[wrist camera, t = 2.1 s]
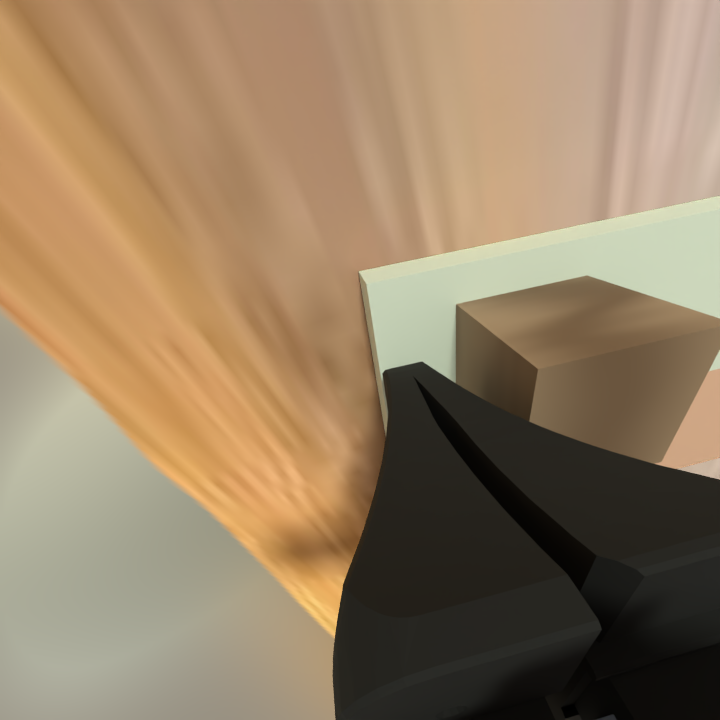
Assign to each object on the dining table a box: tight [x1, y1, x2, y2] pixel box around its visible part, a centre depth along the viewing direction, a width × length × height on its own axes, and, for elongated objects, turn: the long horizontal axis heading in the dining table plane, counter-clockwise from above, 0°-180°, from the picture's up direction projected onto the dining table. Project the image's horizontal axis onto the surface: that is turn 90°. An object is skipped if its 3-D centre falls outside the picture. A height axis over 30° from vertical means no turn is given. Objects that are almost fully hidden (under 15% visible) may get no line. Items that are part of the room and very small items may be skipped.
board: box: [359, 196, 720, 469], centre depth 14 cm, size 20×14×2 cm
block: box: [456, 275, 720, 464], centre depth 9 cm, size 4×4×4 cm
